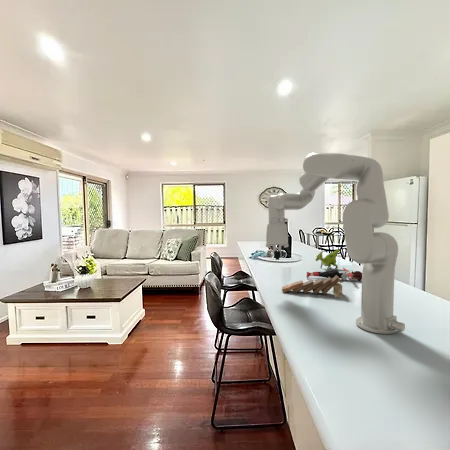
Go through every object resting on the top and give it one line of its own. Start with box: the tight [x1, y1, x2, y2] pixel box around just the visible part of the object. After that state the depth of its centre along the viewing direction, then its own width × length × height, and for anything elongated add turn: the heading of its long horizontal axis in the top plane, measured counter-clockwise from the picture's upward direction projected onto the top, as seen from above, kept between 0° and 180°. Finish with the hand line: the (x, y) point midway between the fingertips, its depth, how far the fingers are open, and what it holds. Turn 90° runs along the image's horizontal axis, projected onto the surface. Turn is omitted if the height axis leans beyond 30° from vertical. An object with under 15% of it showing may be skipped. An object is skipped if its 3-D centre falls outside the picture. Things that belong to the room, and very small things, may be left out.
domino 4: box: [312, 277, 333, 295], centre depth 136 cm, size 2×5×10 cm
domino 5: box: [320, 275, 341, 296], centre depth 135 cm, size 2×5×10 cm
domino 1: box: [281, 279, 304, 294], centre depth 139 cm, size 2×5×10 cm
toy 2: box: [305, 267, 362, 282], centre depth 164 cm, size 28×6×30 cm
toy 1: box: [315, 248, 341, 271], centre depth 193 cm, size 8×21×15 cm, turn 115°
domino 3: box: [302, 277, 324, 295], centre depth 137 cm, size 2×5×10 cm
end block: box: [332, 281, 343, 298], centre depth 134 cm, size 3×8×5 cm, turn 166°
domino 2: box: [292, 279, 314, 294], centre depth 138 cm, size 2×5×10 cm
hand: (277, 259), depth 140 cm, fingers closed
